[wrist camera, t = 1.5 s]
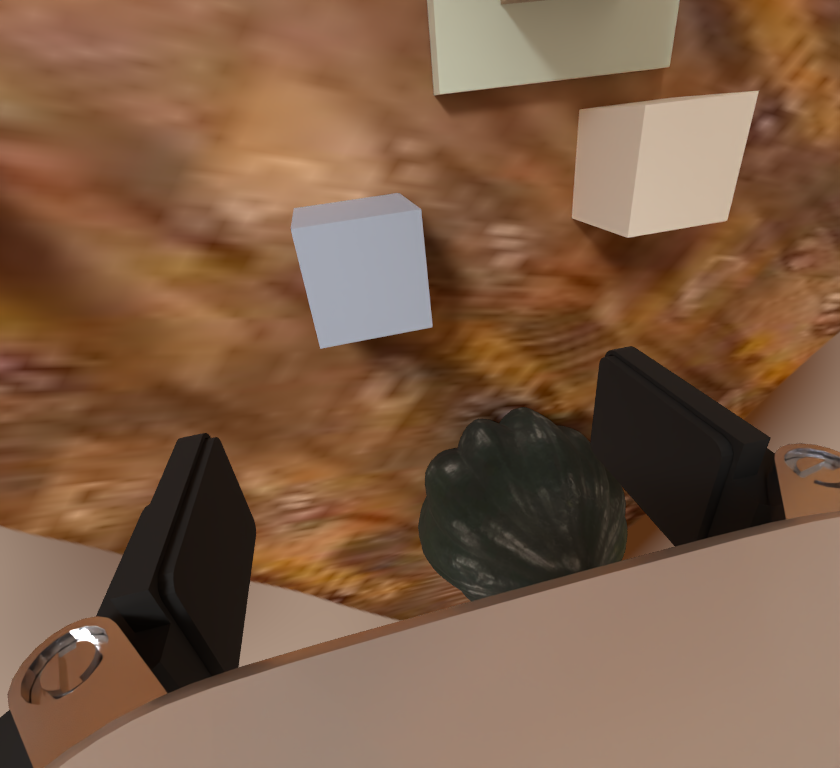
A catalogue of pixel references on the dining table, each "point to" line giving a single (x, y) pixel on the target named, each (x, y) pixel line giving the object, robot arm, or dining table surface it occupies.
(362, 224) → the slate brick
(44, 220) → the dining table surface
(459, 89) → the baseplate
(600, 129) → the cream brick
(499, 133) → the dining table surface
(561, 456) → the squash
